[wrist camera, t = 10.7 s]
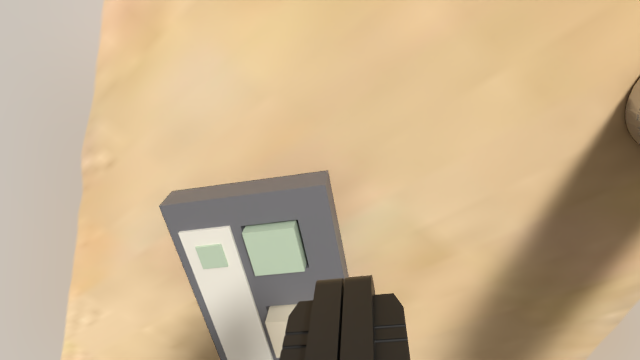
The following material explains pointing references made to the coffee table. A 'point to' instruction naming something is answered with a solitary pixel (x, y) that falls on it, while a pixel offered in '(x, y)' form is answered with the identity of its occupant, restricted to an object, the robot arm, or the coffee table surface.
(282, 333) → the button sand
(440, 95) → the coffee table surface
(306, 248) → the button board
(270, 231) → the button sage
